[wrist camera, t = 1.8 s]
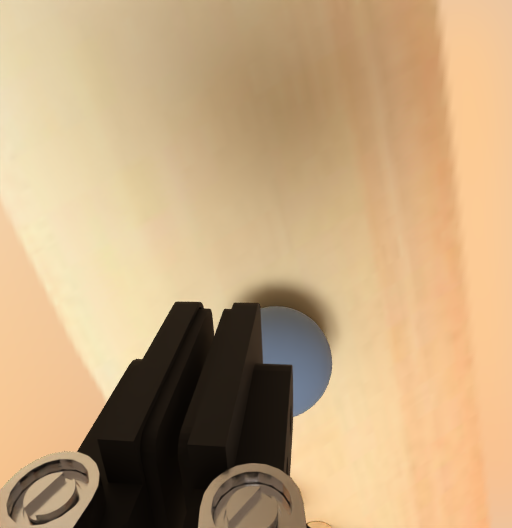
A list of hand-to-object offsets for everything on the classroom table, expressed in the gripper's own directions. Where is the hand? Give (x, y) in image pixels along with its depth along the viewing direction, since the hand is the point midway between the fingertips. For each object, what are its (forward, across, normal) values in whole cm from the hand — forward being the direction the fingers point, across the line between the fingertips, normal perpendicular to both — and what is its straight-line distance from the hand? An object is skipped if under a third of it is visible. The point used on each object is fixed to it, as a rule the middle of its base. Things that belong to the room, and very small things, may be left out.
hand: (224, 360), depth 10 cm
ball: (+12, 0, +9) cm, 15 cm away
